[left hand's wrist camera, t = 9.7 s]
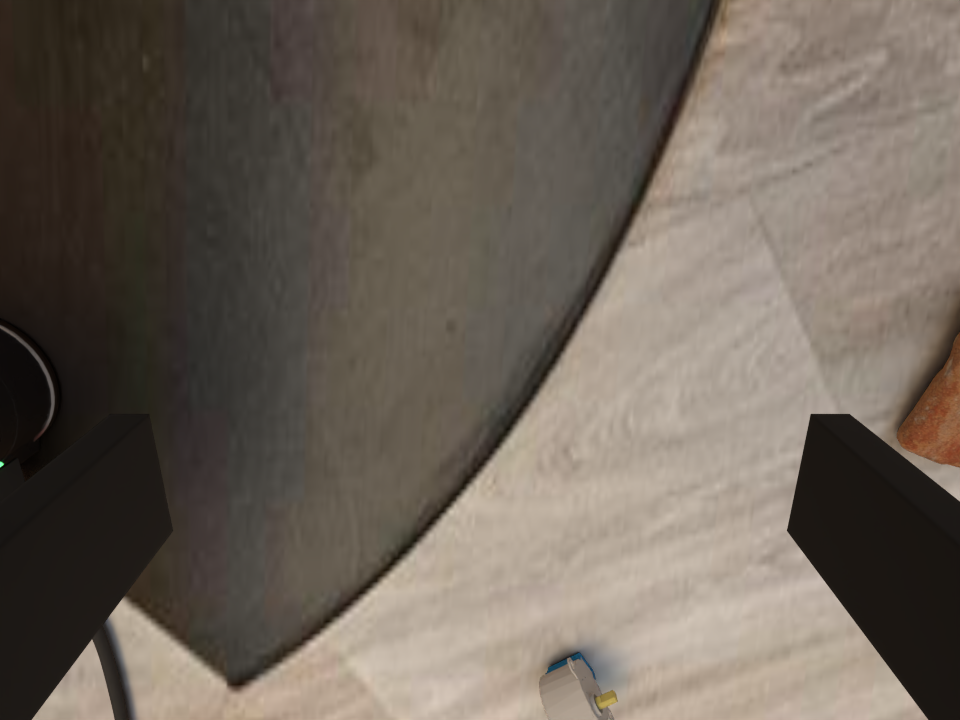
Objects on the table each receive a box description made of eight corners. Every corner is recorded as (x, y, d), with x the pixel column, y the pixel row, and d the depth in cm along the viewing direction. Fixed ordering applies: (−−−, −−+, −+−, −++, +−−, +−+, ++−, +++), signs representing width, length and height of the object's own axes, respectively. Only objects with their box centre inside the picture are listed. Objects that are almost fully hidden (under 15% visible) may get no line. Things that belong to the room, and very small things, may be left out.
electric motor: (625, 681, 50) (641, 739, 45) (572, 706, 50) (582, 766, 46) (582, 622, 47) (594, 677, 43) (527, 649, 48) (533, 706, 44)
